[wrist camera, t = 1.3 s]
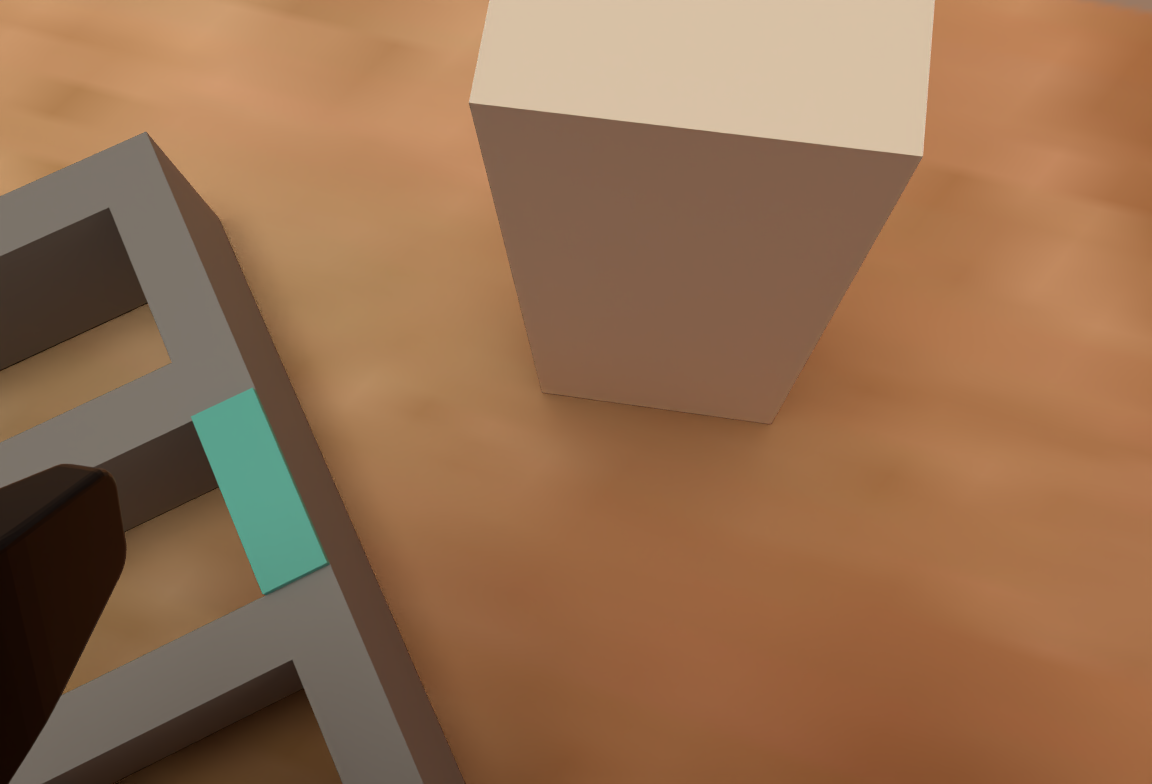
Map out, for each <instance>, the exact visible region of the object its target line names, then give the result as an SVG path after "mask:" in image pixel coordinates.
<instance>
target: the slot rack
mask: <svg viewBox="0 0 1152 784" xmlns="http://www.w3.org/2000/svg"><path fill="white" fill-rule="evenodd" d="M145 303H148V305H149V307H150V310H151V312H152V315H153V317H154V319H155V322H156V324H157V327H158V329H159V332H160V334H161V337H162V339H163V342H164V344H165V347H166V349H167V352H168V354H169V357H170V359H171V361H172V363H170V364H168V365H166V366H164V367H162V368H160V369H158V370H155V371H153V372H151V373H149V374H147V375H145V376H142V377H140V378H138V379H136V380H134V381H132V382H130V383H127V384H125V385H123V386H121V387H119V388H117V389H115V390H112V391H110V392H108V393H106V394H104V395H102V396H100V397H97V398H95V399H93V400H91V401H89V402H87V403H84V404H82V405H80V406H78V407H76V408H74V409H72V410H69V411H67V412H65V413H63V414H61V415H59V416H57V417H54V418H52V419H50V420H48V421H46V422H44V423H42V424H39V425H37V426H35V427H33V428H31V429H29V430H26V431H24V432H22V433H20V434H18V435H16V436H14V437H11V438H9V439H7V440H5V441H3V442H1V443H0V488H2V487H4V486H7V485H9V484H11V483H14V482H16V481H19V480H21V479H24V478H26V477H29V476H31V475H34V474H36V473H39V472H41V471H44V470H46V469H49V468H51V467H54V466H56V465H59V464H75V465H82V466H88V467H95V468H102V469H105V470H107V471H108V472H110V473H111V474H112V475H113V477H114V479H115V481H116V485H117V489H118V495H119V502H120V508H121V514H122V521H123V527H124V532H125V531H127V530H129V529H131V528H133V527H135V526H137V525H139V524H142V523H144V522H146V521H148V520H150V519H152V518H154V517H156V516H158V515H160V514H162V513H165V512H167V511H169V510H171V509H173V508H175V507H177V506H179V505H181V504H183V503H185V502H188V501H190V500H192V499H194V498H196V497H198V496H200V495H202V494H204V493H206V492H208V491H211V490H213V489H215V488H217V487H219V488H220V490H221V493H222V495H223V498H224V500H225V503H226V505H227V508H228V510H229V512H230V515H231V517H232V520H233V522H234V525H235V527H236V530H237V532H238V535H239V537H240V540H241V542H242V545H243V547H244V550H245V552H246V554H247V557H248V559H249V562H250V564H251V567H252V569H253V572H254V574H255V577H256V579H257V582H258V584H259V587H260V589H261V592H262V594H264V595H266V596H264V597H262V598H259V599H257V600H255V601H253V602H251V603H249V604H247V605H245V606H243V607H241V608H239V609H237V610H235V611H233V612H231V613H229V614H227V615H225V616H223V617H221V618H219V619H217V620H215V621H213V622H210V623H208V624H206V625H204V626H202V627H200V628H198V629H196V630H194V631H192V632H190V633H188V634H186V635H184V636H182V637H180V638H178V639H176V640H174V641H172V642H170V643H168V644H166V645H163V646H161V647H159V648H157V649H155V650H153V651H151V652H149V653H147V654H145V655H143V656H141V657H139V658H137V659H135V660H133V661H131V662H129V663H127V664H125V665H123V666H121V667H119V668H117V669H114V670H112V671H110V672H108V673H106V674H104V675H102V676H100V677H98V678H96V679H94V680H92V681H90V682H88V683H86V684H84V685H82V686H80V687H78V688H76V689H74V690H72V691H70V692H68V693H65V694H63V695H61V697H60V699H59V701H58V703H57V704H56V706H55V708H54V710H53V712H52V714H51V716H50V718H49V719H48V721H47V723H46V725H45V726H44V728H43V730H42V731H41V733H40V735H39V736H38V738H37V740H36V741H35V743H34V745H33V746H32V748H31V750H30V751H29V753H28V754H27V756H26V757H25V759H24V761H23V762H22V764H21V765H20V767H19V768H18V770H17V772H16V773H15V775H14V776H13V778H12V779H11V781H10V783H9V784H112V783H114V782H116V781H118V780H120V779H122V778H124V777H126V776H129V775H131V774H133V773H135V772H137V771H139V770H141V769H143V768H145V767H147V766H149V765H151V764H153V763H155V762H157V761H159V760H161V759H163V758H165V757H167V756H169V755H171V754H173V753H175V752H177V751H179V750H181V749H183V748H185V747H187V746H189V745H191V744H193V743H195V742H197V741H199V740H201V739H203V738H205V737H207V736H209V735H211V734H213V733H215V732H217V731H219V730H221V729H223V728H225V727H227V726H229V725H231V724H233V723H235V722H237V721H239V720H241V719H243V718H245V717H247V716H249V715H251V714H253V713H255V712H257V711H259V710H261V709H263V708H265V707H267V706H269V705H271V704H273V703H275V702H277V701H279V700H281V699H283V698H285V697H287V696H289V695H291V694H293V693H295V692H297V691H299V690H301V689H303V688H304V690H305V692H306V695H307V697H308V700H309V702H310V704H311V707H312V709H313V712H314V714H315V717H316V719H317V722H318V724H319V727H320V729H321V732H322V734H323V737H324V739H325V741H326V744H327V746H328V749H329V751H330V754H331V756H332V759H333V761H334V764H335V766H336V769H337V771H338V774H339V776H340V779H341V781H342V783H343V784H465V782H464V780H463V777H462V775H461V773H460V771H459V768H458V766H457V764H456V761H455V759H454V757H453V754H452V752H451V750H450V748H449V745H448V743H447V741H446V738H445V736H444V734H443V732H442V729H441V727H440V725H439V722H438V720H437V718H436V715H435V713H434V711H433V709H432V706H431V704H430V702H429V699H428V697H427V695H426V693H425V690H424V688H423V686H422V683H421V681H420V679H419V676H418V674H417V672H416V670H415V667H414V665H413V663H412V660H411V658H410V656H409V654H408V651H407V649H406V647H405V644H404V642H403V640H402V637H401V635H400V633H399V631H398V628H397V626H396V624H395V621H394V619H393V617H392V615H391V612H390V610H389V608H388V605H387V603H386V601H385V598H384V596H383V594H382V592H381V589H380V587H379V585H378V582H377V580H376V578H375V576H374V573H373V571H372V569H371V566H370V564H369V562H368V559H367V557H366V555H365V553H364V550H363V548H362V546H361V543H360V541H359V539H358V537H357V534H356V532H355V530H354V527H353V525H352V523H351V520H350V518H349V516H348V514H347V511H346V509H345V507H344V504H343V502H342V500H341V498H340V495H339V493H338V491H337V488H336V486H335V484H334V481H333V479H332V477H331V475H330V472H329V470H328V468H327V465H326V463H325V461H324V459H323V456H322V454H321V452H320V449H319V447H318V445H317V442H316V440H315V438H314V436H313V433H312V431H311V429H310V426H309V424H308V422H307V420H306V417H305V415H304V413H303V410H302V408H301V406H300V403H299V401H298V399H297V397H296V394H295V392H294V390H293V387H292V385H291V383H290V381H289V378H288V376H287V374H286V371H285V369H284V367H283V364H282V362H281V360H280V358H279V355H278V353H277V351H276V348H275V346H274V344H273V342H272V339H271V337H270V335H269V332H268V330H267V328H266V325H265V323H264V321H263V319H262V316H261V314H260V312H259V309H258V307H257V305H256V303H255V300H254V298H253V296H252V293H251V291H250V289H249V286H248V284H247V282H246V280H245V277H244V275H243V273H242V270H241V268H240V266H239V264H238V261H237V259H236V257H235V254H234V252H233V250H232V247H231V245H230V243H229V241H228V238H227V236H226V234H225V231H224V229H223V227H222V225H221V222H220V220H219V218H218V217H217V216H216V214H215V213H214V212H213V211H212V210H211V208H210V207H209V206H208V205H207V204H206V202H205V201H204V200H203V199H202V198H201V197H200V195H199V194H198V193H197V192H196V191H195V189H194V188H193V187H192V186H191V185H190V183H189V182H188V181H187V180H186V179H185V177H184V176H183V175H182V174H181V173H180V171H179V170H178V169H177V168H176V167H175V166H174V164H173V163H172V162H171V161H170V160H169V158H168V157H167V156H166V155H165V154H164V152H163V151H162V150H161V149H160V148H159V146H158V145H157V144H156V143H155V142H154V140H153V139H152V138H151V137H150V136H149V135H148V133H147V132H144V133H142V134H139V135H137V136H135V137H133V138H130V139H128V140H126V141H124V142H121V143H119V144H117V145H115V146H112V147H110V148H108V149H106V150H103V151H101V152H99V153H97V154H94V155H92V156H90V157H88V158H85V159H83V160H81V161H79V162H76V163H74V164H72V165H70V166H67V167H65V168H63V169H61V170H58V171H56V172H54V173H52V174H49V175H47V176H45V177H43V178H40V179H38V180H36V181H34V182H31V183H29V184H27V185H25V186H22V187H20V188H18V189H16V190H13V191H11V192H9V193H7V194H4V195H2V196H0V370H2V369H4V368H6V367H8V366H10V365H13V364H15V363H17V362H19V361H21V360H23V359H26V358H28V357H30V356H32V355H34V354H37V353H39V352H41V351H43V350H45V349H47V348H50V347H52V346H54V345H56V344H58V343H60V342H63V341H65V340H67V339H69V338H71V337H74V336H76V335H78V334H80V333H82V332H84V331H87V330H89V329H91V328H93V327H95V326H97V325H100V324H102V323H104V322H106V321H108V320H111V319H113V318H115V317H117V316H119V315H121V314H124V313H126V312H128V311H130V310H132V309H135V308H137V307H139V306H141V305H143V304H145Z"/></svg>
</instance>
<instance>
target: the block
mask: <svg viewBox="0 0 1152 784" xmlns="http://www.w3.org/2000/svg"><path fill="white" fill-rule="evenodd" d="M934 3H935V0H490V1H489V6H488V10H487V15H486V20H485V25H484V30H483V35H482V40H481V45H480V50H479V55H478V60H477V65H476V70H475V75H474V80H473V85H472V90H471V95H470V100H469V105H470V109H471V113H472V117H473V121H474V125H475V129H476V133H477V137H478V141H479V145H480V149H481V153H482V157H483V161H484V165H485V169H486V173H487V177H488V181H489V185H490V188H491V192H492V196H493V200H494V204H495V208H496V212H497V216H498V220H499V224H500V228H501V232H502V236H503V240H504V244H505V248H506V252H507V256H508V260H509V264H510V268H511V272H512V276H513V280H514V284H515V288H516V292H517V296H518V300H519V304H520V308H521V312H522V316H523V320H524V324H525V328H526V332H527V336H528V339H529V343H530V347H531V351H532V355H533V359H534V363H535V367H536V371H537V375H538V379H539V383H540V387H541V391H542V393H549V394H556V395H563V396H571V397H578V398H585V399H592V400H599V401H607V402H614V403H621V404H628V405H635V406H643V407H650V408H657V409H664V410H671V411H679V412H686V413H693V414H700V415H707V416H715V417H722V418H729V419H736V420H744V421H751V422H758V423H765V424H771V423H772V422H773V420H774V418H775V416H776V415H777V413H778V411H779V409H780V408H781V406H782V404H783V402H784V400H785V399H786V397H787V395H788V393H789V392H790V390H791V388H792V386H793V385H794V383H795V381H796V379H797V378H798V376H799V374H800V372H801V371H802V369H803V367H804V365H805V363H806V362H807V360H808V358H809V356H810V355H811V353H812V351H813V349H814V348H815V346H816V344H817V342H818V341H819V339H820V337H821V335H822V333H823V332H824V330H825V328H826V326H827V325H828V323H829V321H830V319H831V318H832V316H833V314H834V312H835V311H836V309H837V307H838V305H839V303H840V302H841V300H842V298H843V296H844V295H845V293H846V291H847V289H848V288H849V286H850V284H851V282H852V281H853V279H854V277H855V275H856V274H857V272H858V270H859V268H860V266H861V265H862V263H863V261H864V259H865V258H866V256H867V254H868V252H869V251H870V249H871V247H872V245H873V244H874V242H875V240H876V238H877V236H878V235H879V233H880V231H881V229H882V228H883V226H884V224H885V222H886V221H887V219H888V217H889V215H890V214H891V212H892V210H893V208H894V206H895V205H896V203H897V201H898V199H899V198H900V196H901V194H902V192H903V191H904V189H905V187H906V185H907V184H908V182H909V180H910V178H911V177H912V175H913V173H914V171H915V169H916V168H917V166H918V164H919V162H920V161H921V159H922V157H923V148H924V135H925V122H926V109H927V95H928V82H929V69H930V56H931V43H932V30H933V17H934Z"/></svg>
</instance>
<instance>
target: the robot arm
mask: <svg viewBox="0 0 1152 784" xmlns="http://www.w3.org/2000/svg"><path fill="white" fill-rule="evenodd" d="M125 559H126V539H125V533H124V527H123V521H122V514H121V508H120V502H119V495H118V489H117V485H116V481H115V479H114V477H113V475H112V474H111V473H110V472H108V471H107V470H105V469H102V468H95V467H88V466H82V465H75V464H59V465H56V466H54V467H51V468H49V469H46V470H44V471H41V472H39V473H36V474H34V475H31V476H29V477H26V478H24V479H21V480H19V481H16V482H14V483H11V484H9V485H7V486H4V487H2V488H0V784H9V783H10V781H11V779H12V778H13V776H14V775H15V773H16V772H17V770H18V768H19V767H20V765H21V764H22V762H23V761H24V759H25V757H26V756H27V754H28V753H29V751H30V750H31V748H32V746H33V745H34V743H35V741H36V740H37V738H38V736H39V735H40V733H41V731H42V730H43V728H44V726H45V725H46V723H47V721H48V719H49V718H50V716H51V714H52V712H53V710H54V708H55V706H56V704H57V703H58V701H59V699H60V697H61V695H62V693H63V691H64V689H65V687H66V685H67V683H68V681H69V679H70V677H71V675H72V673H73V671H74V668H75V666H76V664H77V662H78V660H79V658H80V656H81V654H82V652H83V650H84V648H85V646H86V644H87V642H88V640H89V638H90V636H91V634H92V632H93V630H94V628H95V626H96V624H97V622H98V620H99V618H100V616H101V614H102V612H103V610H104V608H105V606H106V604H107V602H108V600H109V598H110V596H111V594H112V592H113V590H114V587H115V585H116V583H117V581H118V579H119V577H120V575H121V573H122V570H123V567H124V564H125Z"/></svg>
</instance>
